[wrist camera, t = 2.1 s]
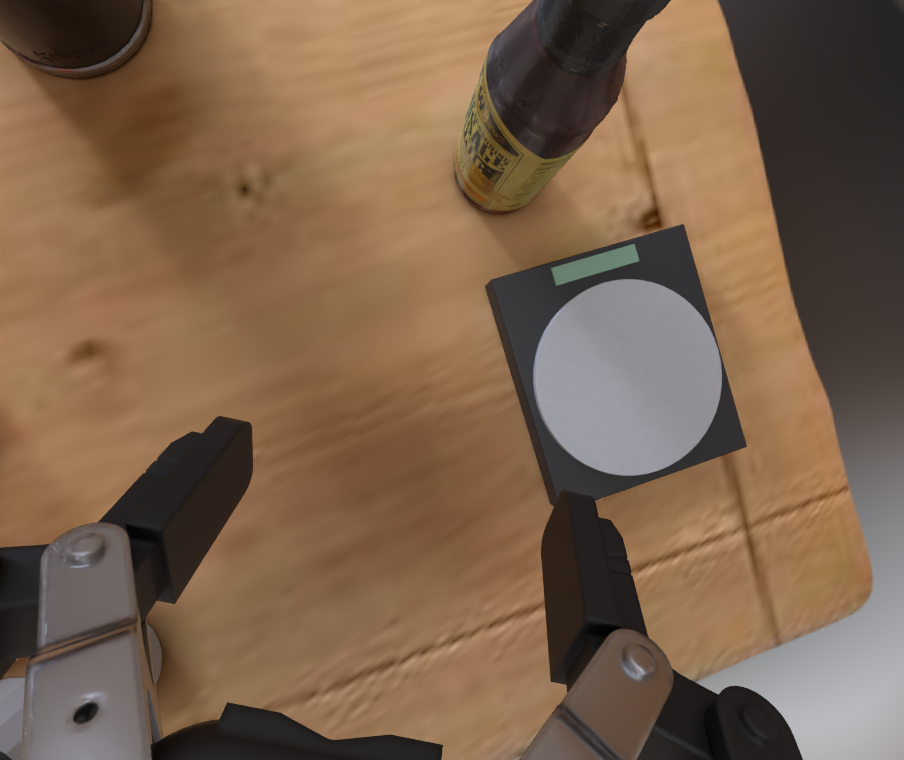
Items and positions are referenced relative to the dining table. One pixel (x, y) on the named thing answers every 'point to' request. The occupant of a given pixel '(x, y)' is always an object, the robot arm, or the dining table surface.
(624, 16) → the sauce bottle
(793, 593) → the dining table surface
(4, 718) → the coffee cup
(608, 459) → the kitchen scale
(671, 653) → the dining table surface
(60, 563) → the robot arm
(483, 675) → the dining table surface
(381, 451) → the dining table surface
